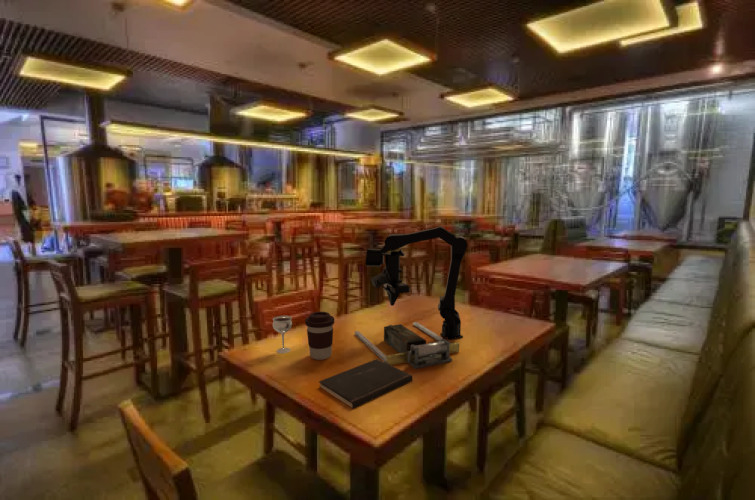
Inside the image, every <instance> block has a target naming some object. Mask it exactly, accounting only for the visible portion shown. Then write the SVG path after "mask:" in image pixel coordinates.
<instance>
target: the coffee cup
mask: <svg viewBox="0 0 755 500" xmlns="http://www.w3.org/2000/svg"><path fill="white" fill-rule="evenodd" d="M304 323H305V326H306V327H307V329H306V334H307V342H308V343H307V344H308V346H309V347H308V349H309V355H310V358H311V359H314V360H316V361H317V360H318V361H319V360H320V361H323V360H327V359H329V358H330V357H331V356H332V350H333V349H332V347H333V346H332V345H333V340H334V339H333V338H334V337H333V336H334V328H333V325H334V324H335V317H334V316H333V315H331V314H330V313H329V312H327V311H314V312H311V313H309V316H307V317H306V318H305V320H304Z"/></svg>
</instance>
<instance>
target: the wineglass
mask: <svg viewBox="0 0 755 500" xmlns="http://www.w3.org/2000/svg"><path fill="white" fill-rule="evenodd" d="M292 319H293V317H292V316H290V315H285V314H284V315H278V316H274V317H273V318H272V321H273V322H272V328H273V329H274V330H275V331H276V332H277V333H279V334H281V340H282V341H281V343H282V347H281V348H278V349H276V353H277V354H286V353H289V352H291V348H289V347H285V334H286V333H288V332H289V331H290V330H291V328H292V325H293V322H292Z"/></svg>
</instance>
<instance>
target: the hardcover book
mask: <svg viewBox="0 0 755 500" xmlns="http://www.w3.org/2000/svg"><path fill="white" fill-rule="evenodd" d="M410 382H413V376H412V374H411V373H408V372H406V371H404V370H402V369H400V368H398V367H396V366H394V365H389V364H387V363H385V362H383V361H382V360H381V359H378V358H376V359H373V360H370V361H368V362H365V363H363V364H360V365H357V366H355V367H353V368H350V369H348V370H347V369H346V370H345V371H343V372H339V373H337V374H335V375H331V376H329V377H327V378H324V379H322V380H320V381H318V383H319V386H320V388H321V389H323V390H324V391H325V392H327V393H328V394H331V395H332V396H333V397H335V398H336V399H338V400H339V401H341V402H342V403H344V404H346V405H347V406H349V407H350V408H352V410H354V409H356V408H358V407H361V406H362V405H364V404H366V403H368V402H371V401H372V400H374V399H376V398H379V397H382V396H383V395H385V394H388V393H389V392H392V391H393V390H396V389H398V388H401V387H402V386H404V385H406V384H408V383H410Z"/></svg>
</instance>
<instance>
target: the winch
mask: <svg viewBox="0 0 755 500" xmlns="http://www.w3.org/2000/svg"><path fill="white" fill-rule="evenodd" d="M450 343H451V342H450V341H449V340H448V339H445V338H443V339H442V341H435V342H429V343H427V342H426V344H422V345H417V346H415V345H411V351H407V352H406V362H405V363H407V364H409V365H410V366H411V367H412V368H413V369H414V370H417V369H421V368H422V369H423V368H426V367H427V368H428V367H431V366H435V365H436V366H437V365H440V364H445V363H450V362H453V361H452V360H453V358H452V357H451V356H450V353H449V345H450Z"/></svg>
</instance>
